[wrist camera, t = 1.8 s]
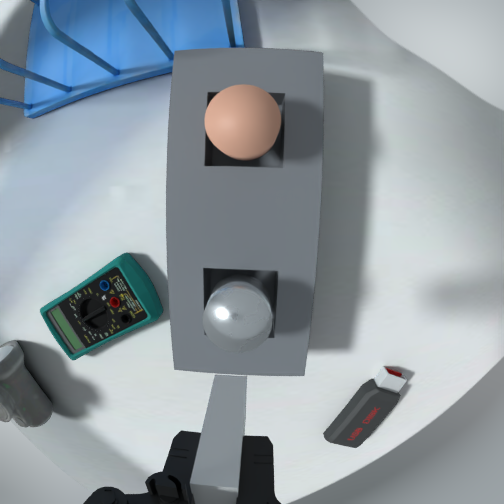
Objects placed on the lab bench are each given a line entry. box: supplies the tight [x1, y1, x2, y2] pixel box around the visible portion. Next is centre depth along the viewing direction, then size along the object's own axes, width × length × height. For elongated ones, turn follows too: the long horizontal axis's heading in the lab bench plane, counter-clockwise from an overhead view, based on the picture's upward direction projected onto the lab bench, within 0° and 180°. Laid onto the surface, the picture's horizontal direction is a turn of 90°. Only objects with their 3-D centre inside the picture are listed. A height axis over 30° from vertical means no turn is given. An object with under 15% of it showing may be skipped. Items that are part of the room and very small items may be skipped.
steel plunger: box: [203, 274, 272, 352], centre depth 24 cm, size 5×5×4 cm
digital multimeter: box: [40, 253, 163, 360], centre depth 31 cm, size 7×15×3 cm, turn 118°
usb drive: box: [323, 366, 407, 448], centre depth 33 cm, size 5×12×3 cm, turn 155°
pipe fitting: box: [0, 341, 53, 427], centre depth 30 cm, size 12×8×10 cm
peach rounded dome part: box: [204, 84, 281, 161], centre depth 21 cm, size 5×5×4 cm
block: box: [166, 48, 324, 376], centre depth 27 cm, size 28×12×5 cm, turn 178°
